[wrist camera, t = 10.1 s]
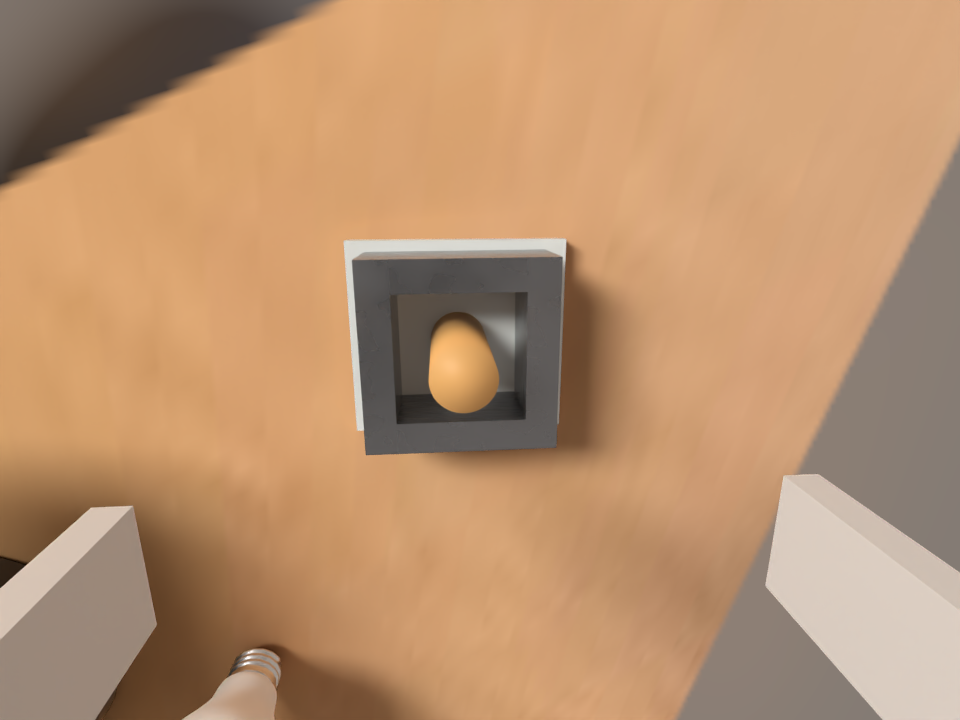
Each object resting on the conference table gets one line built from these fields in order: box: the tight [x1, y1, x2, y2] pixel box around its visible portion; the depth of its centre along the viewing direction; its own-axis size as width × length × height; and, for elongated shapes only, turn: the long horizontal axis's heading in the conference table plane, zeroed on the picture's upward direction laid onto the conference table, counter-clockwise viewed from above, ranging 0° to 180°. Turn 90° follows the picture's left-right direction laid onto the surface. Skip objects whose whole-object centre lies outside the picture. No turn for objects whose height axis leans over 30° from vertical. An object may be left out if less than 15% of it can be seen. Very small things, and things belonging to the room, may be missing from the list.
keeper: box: [344, 238, 566, 431], centre depth 25 cm, size 11×10×8 cm
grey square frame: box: [352, 249, 563, 455], centre depth 26 cm, size 9×9×4 cm
